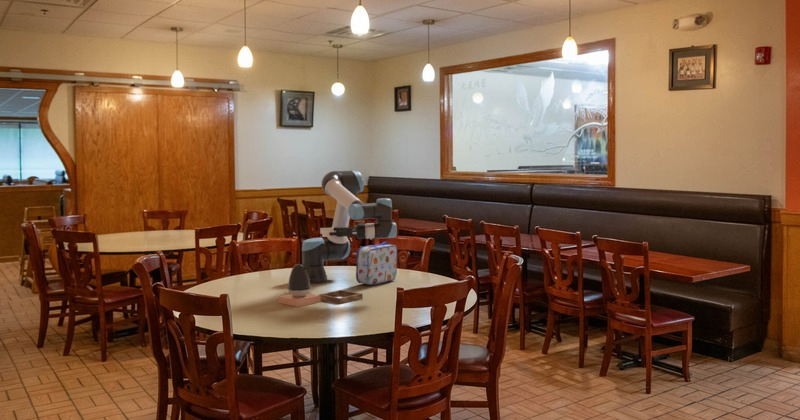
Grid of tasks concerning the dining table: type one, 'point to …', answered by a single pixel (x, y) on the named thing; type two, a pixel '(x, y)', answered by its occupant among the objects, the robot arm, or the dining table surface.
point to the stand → (299, 299)
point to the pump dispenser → (299, 281)
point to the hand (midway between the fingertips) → (321, 232)
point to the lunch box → (376, 264)
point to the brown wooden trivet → (332, 295)
